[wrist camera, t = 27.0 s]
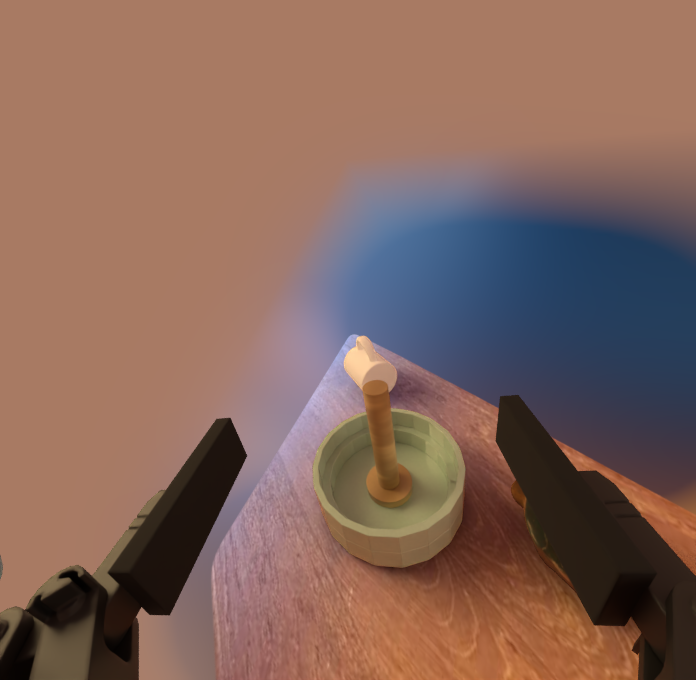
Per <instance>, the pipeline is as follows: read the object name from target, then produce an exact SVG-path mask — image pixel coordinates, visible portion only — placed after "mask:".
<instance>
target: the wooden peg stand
mask: <svg viewBox="0 0 696 680" xmlns="http://www.w3.org/2000/svg"><path fill="white" fill-rule="evenodd" d="M362 390H363V396H364V402H365V408H366V414H367V419H368V425H369V431H370V437H371V443H372V448H373V454H374V460H375V466H374V467H373V468H372V469H371V470H370V471H369V473H368V475H367V479H366V485H367V490H368V493H369V496H370V497H371V499H372V500H373V501H374V502H375V503H376V504H378V505H380V506H382V507H386V508H395V507H398V506H401V505H403V504H404V503H406V502H407V501H408V499H409V498H410V496H411V494H412V490H413V485H412V477H411V475H410V473H409V471H408V470H407V469H406V468H405V467H404V466H403V465H401V464H399V463H397V454H396V446H395V438H394V430H393V422H392V414H391V405H390V397H389V389H388V385H387V383H386V382H384V381H382V380H372V381H369V382H367V383H365V384H364V386H363V388H362Z"/></svg>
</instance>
